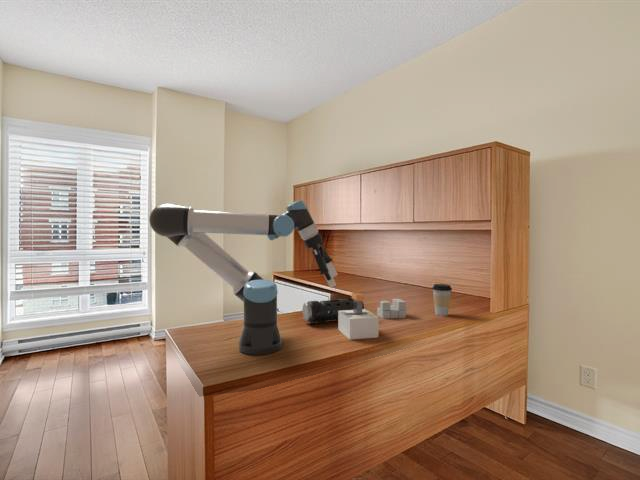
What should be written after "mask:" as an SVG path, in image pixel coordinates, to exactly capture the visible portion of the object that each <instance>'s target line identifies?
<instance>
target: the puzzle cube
mask: <svg viewBox="0 0 640 480" xmlns="http://www.w3.org/2000/svg"><path fill="white" fill-rule="evenodd" d="M391 303H392V304H391ZM376 309H377V310H376V316H378V317H380V318H382V319H401V318H402V319H406V318H407V302H406V301H405V300H403V299H401V298H392V302H390V301H388V300H380V301H379V306H378V307H377V308H376ZM405 317H406V318H405Z"/></svg>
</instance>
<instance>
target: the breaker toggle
mask: <svg viewBox="0 0 640 480" xmlns="http://www.w3.org/2000/svg"><path fill="white" fill-rule="evenodd" d="M351 298H352V299H353V312H355V313H356V314H362V301H363V302H364V301H365V295H364V294H362V293H360V292H352V293H351Z"/></svg>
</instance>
